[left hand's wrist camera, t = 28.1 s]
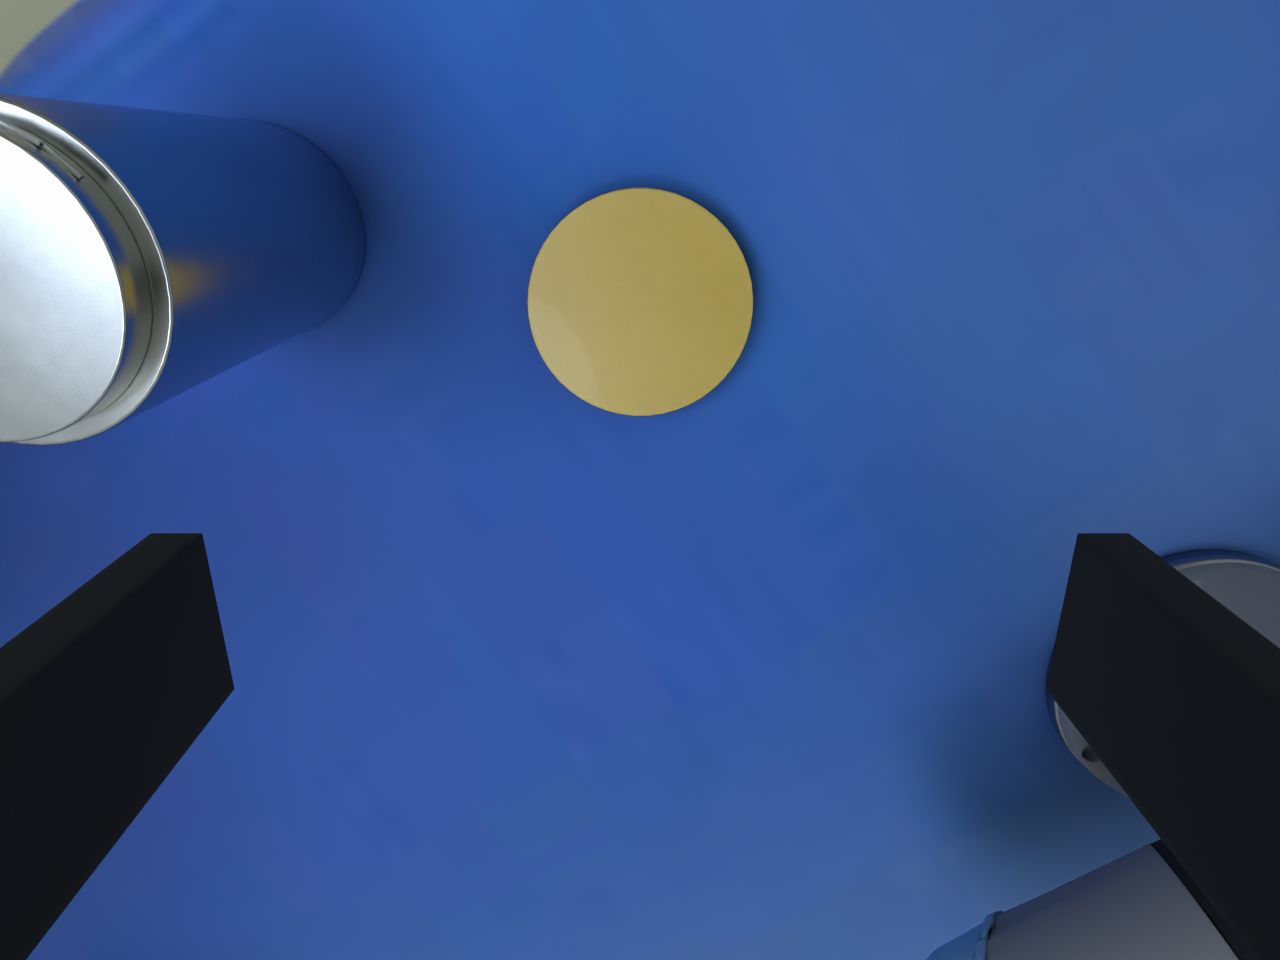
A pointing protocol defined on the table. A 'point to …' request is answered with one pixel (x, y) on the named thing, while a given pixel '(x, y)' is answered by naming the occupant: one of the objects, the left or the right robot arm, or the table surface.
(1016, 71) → the table surface
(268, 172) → the jar
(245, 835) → the table surface
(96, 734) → the left robot arm
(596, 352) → the lid
